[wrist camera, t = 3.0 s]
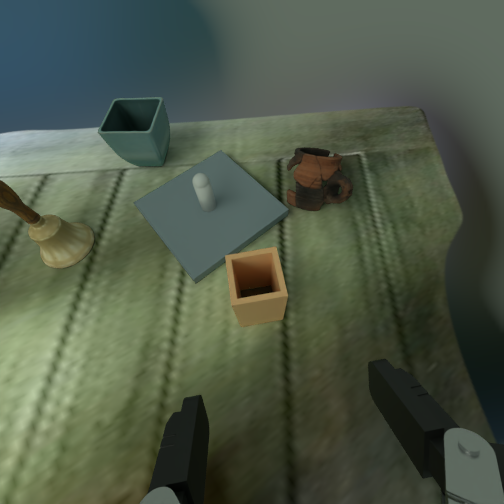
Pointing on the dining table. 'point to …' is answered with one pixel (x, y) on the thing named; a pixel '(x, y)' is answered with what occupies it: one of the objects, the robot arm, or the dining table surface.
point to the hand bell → (51, 232)
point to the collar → (256, 286)
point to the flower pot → (137, 130)
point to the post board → (210, 213)
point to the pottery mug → (317, 179)
